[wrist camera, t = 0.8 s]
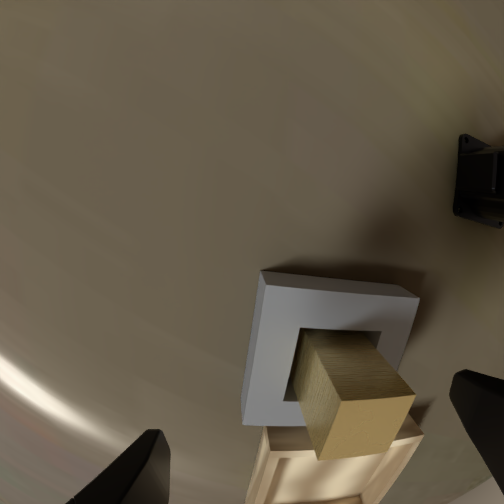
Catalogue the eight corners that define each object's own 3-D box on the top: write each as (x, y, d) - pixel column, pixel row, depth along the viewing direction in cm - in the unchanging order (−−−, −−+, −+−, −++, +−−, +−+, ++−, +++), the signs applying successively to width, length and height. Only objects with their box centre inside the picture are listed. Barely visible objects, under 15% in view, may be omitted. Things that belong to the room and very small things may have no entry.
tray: (407, 412, 23) (424, 434, 20) (360, 493, 26) (369, 514, 22) (265, 420, 22) (270, 451, 18) (244, 503, 24) (246, 527, 21)
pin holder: (397, 284, 20) (420, 298, 17) (362, 399, 22) (375, 421, 19) (260, 270, 19) (265, 284, 16) (240, 398, 21) (242, 424, 18)
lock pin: (352, 321, 21) (416, 394, 12) (338, 369, 21) (386, 452, 12) (298, 318, 20) (341, 401, 11) (287, 368, 21) (317, 460, 12)
